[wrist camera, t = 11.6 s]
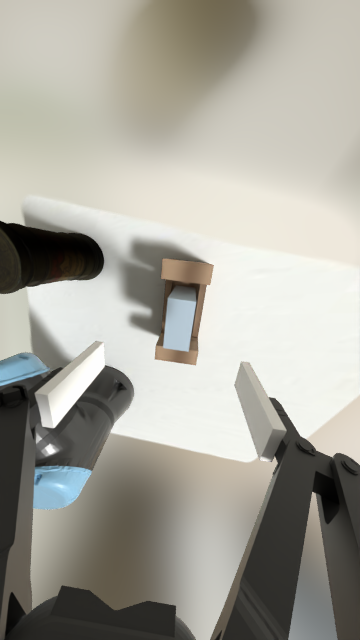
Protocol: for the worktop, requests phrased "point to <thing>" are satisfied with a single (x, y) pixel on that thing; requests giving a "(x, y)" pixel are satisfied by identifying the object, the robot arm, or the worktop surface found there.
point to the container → (45, 257)
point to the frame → (199, 279)
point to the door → (179, 318)
